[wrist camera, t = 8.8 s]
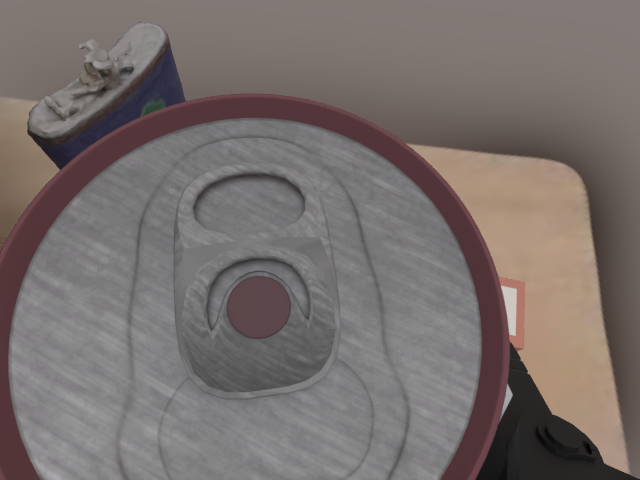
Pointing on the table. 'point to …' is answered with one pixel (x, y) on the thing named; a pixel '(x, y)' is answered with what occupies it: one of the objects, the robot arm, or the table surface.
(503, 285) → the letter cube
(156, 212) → the soda can
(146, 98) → the flask
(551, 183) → the table surface
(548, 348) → the table surface
